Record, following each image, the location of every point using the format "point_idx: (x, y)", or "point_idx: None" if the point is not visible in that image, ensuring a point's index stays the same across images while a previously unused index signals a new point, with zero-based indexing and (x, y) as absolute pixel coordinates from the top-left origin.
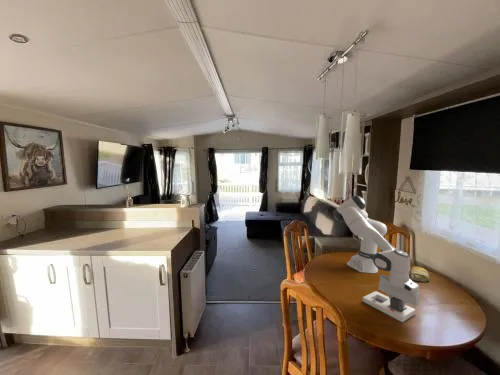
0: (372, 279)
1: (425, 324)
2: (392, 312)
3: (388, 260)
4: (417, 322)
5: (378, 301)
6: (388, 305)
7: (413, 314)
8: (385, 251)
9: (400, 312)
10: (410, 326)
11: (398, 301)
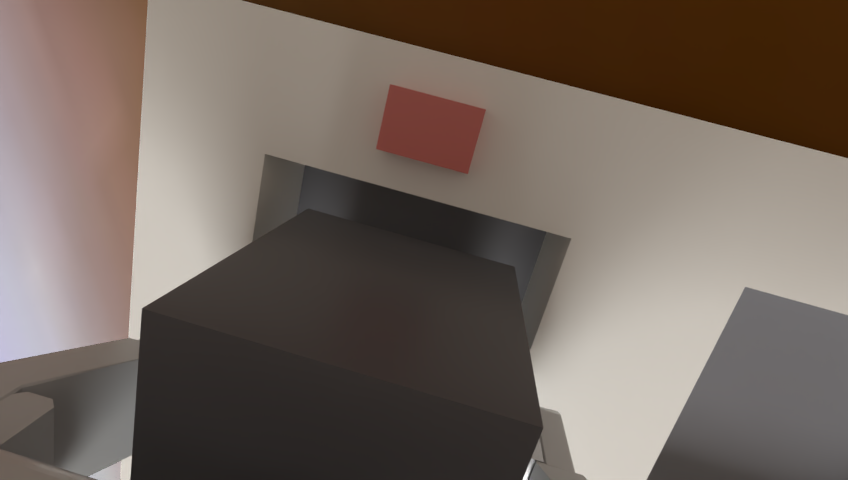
0: None
1: (3, 255)
2: (405, 44)
3: None
4: (87, 228)
5: (771, 448)
6: (560, 310)
7: None
8: None
9: None
10: (104, 6)
11: (186, 353)
